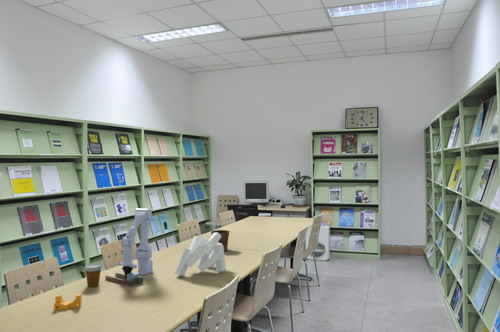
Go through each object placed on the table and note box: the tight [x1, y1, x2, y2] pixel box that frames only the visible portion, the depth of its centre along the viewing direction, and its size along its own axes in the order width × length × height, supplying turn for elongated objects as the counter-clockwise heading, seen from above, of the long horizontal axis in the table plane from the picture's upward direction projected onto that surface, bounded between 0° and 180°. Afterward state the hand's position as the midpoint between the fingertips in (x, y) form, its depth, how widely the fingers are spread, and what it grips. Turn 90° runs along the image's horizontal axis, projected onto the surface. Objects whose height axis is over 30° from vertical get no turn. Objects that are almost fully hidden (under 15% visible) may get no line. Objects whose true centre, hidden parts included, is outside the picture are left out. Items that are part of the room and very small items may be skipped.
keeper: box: [127, 271, 140, 281], centre depth 238 cm, size 5×5×6 cm
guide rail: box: [104, 272, 144, 287], centre depth 242 cm, size 9×25×4 cm, turn 57°
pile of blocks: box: [174, 232, 227, 277], centre depth 263 cm, size 35×30×35 cm
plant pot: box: [210, 229, 231, 252], centre depth 330 cm, size 16×16×16 cm
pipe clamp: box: [53, 293, 82, 311], centre depth 198 cm, size 12×4×6 cm, turn 97°
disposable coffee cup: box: [84, 263, 102, 288], centre depth 234 cm, size 10×10×12 cm
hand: (127, 278), depth 241 cm, fingers closed
